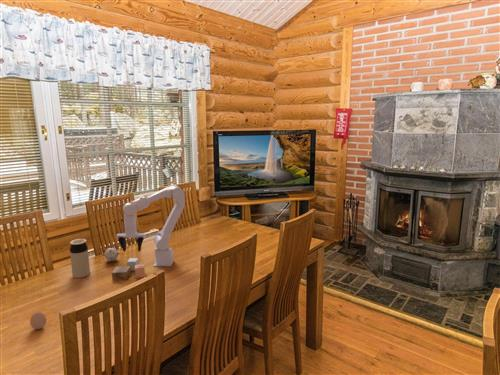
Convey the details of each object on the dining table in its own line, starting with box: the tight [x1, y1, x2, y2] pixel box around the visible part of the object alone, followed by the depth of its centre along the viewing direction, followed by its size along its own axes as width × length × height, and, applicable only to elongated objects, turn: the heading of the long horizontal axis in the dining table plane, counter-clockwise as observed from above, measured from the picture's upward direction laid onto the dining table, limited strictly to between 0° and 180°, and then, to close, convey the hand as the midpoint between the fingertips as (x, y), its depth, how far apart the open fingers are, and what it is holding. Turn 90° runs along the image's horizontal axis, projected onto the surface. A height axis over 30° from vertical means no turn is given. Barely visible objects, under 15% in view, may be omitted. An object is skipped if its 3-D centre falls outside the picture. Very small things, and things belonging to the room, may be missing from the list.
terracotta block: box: [134, 263, 146, 279], centre depth 170 cm, size 4×4×5 cm
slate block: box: [126, 257, 139, 271], centre depth 177 cm, size 4×4×5 cm
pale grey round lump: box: [102, 246, 120, 263], centre depth 186 cm, size 9×8×10 cm
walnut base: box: [111, 265, 132, 281], centre depth 168 cm, size 7×7×4 cm
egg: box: [29, 310, 47, 330], centre depth 126 cm, size 5×5×7 cm
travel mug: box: [69, 238, 91, 279], centre depth 168 cm, size 8×8×18 cm
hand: (132, 250), depth 176 cm, fingers open, 7 cm apart
